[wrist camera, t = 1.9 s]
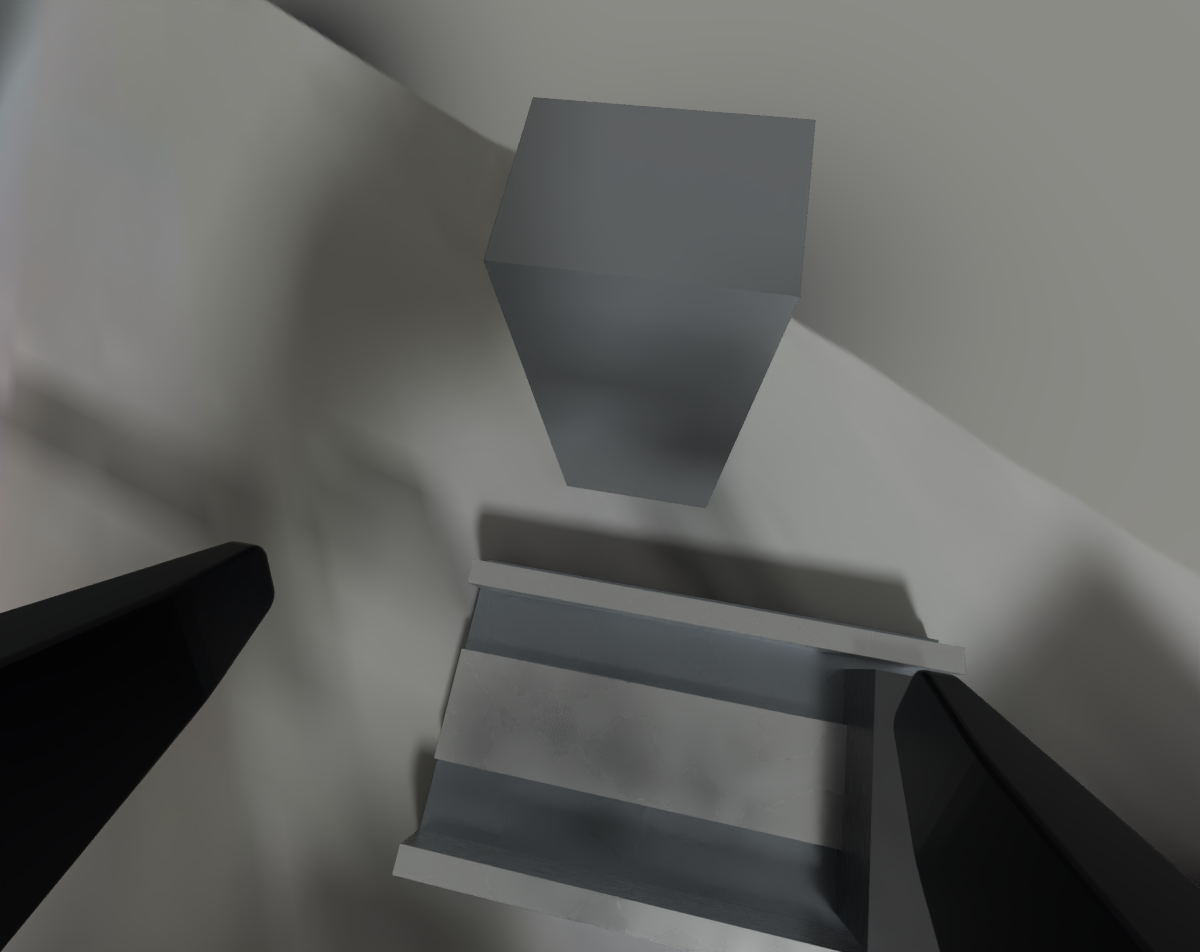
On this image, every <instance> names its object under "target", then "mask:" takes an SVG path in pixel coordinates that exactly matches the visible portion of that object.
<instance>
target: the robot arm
mask: <svg viewBox="0 0 1200 952" xmlns="http://www.w3.org/2000/svg"><path fill="white" fill-rule="evenodd" d="M273 599H274V586H273V581H272V577H271V572H270V568H269V563H268V559H267V555H266V552H265V551H264V550H263V548H262V547H260V546H258V545H253V544H248V543H242V542H228V543H225V544H221V545H218V546H215V547H212V548H209V549H205V550H202V551H199V552H196V553H192V554H189V555H186V556H183V557H180V558H176V559H173V560H170V561H167V562H163V563H160V564H157V565H154V566H151V567H147V568H144V569H141V570H138V571H135V572H131V573H128V574H125V575H122V576H118V577H115V578H112V579H109V580H106V581H102V582H99V583H96V584H93V585H89V586H86V587H83V588H80V589H77V590H73V591H70V592H67V593H64V594H61V595H57V596H54V597H51V598H48V599H44V600H41V601H38V602H35V603H32V604H28V605H25V606H22V607H19V608H15V609H12V610H9V611H6V612H3V613H0V952H1V951H2V950H3V948H4V947H5V946H6V945H7V943H8V942H9V941H10V940H11V939H12V937H13V936H14V935H15V934H16V933H17V931H18V930H19V929H20V928H21V926H22V925H23V924H24V923H25V922H26V920H27V919H28V918H29V917H30V915H31V914H32V913H33V912H34V911H35V909H36V908H37V907H38V906H39V905H40V903H41V902H42V901H43V900H44V898H45V897H46V896H47V895H48V894H49V892H50V891H51V890H52V889H53V887H54V886H55V885H56V884H57V883H58V881H59V880H60V879H61V878H62V877H63V875H64V874H65V873H66V872H67V870H68V869H69V868H70V867H71V866H72V864H73V863H74V862H75V861H76V860H77V858H78V857H79V856H80V855H81V853H82V852H83V851H84V850H85V849H86V847H87V846H88V845H89V844H90V842H91V841H92V840H93V839H94V838H95V836H96V835H97V834H98V833H99V832H100V830H101V829H102V828H103V827H104V825H105V824H106V823H107V822H108V821H109V819H110V818H111V817H112V816H113V814H114V813H115V812H116V811H117V810H118V808H119V807H120V806H121V805H122V804H123V802H124V801H125V800H126V799H127V797H128V796H129V795H130V794H131V793H132V791H133V790H134V789H135V788H136V787H137V785H138V784H139V783H140V782H141V780H142V779H143V778H144V777H145V776H146V774H147V773H148V772H149V771H150V769H151V768H152V767H153V766H154V765H155V763H156V762H157V761H158V760H159V759H160V757H161V756H162V755H163V754H164V752H165V751H166V750H167V749H168V748H169V746H170V745H171V744H172V743H173V742H174V740H175V739H176V738H177V737H178V735H179V734H180V733H181V732H182V731H183V729H184V728H185V727H186V726H187V724H188V723H189V722H190V721H191V720H192V718H193V717H194V716H195V715H196V713H197V712H198V711H199V710H200V708H201V707H202V706H203V704H204V703H205V702H206V701H207V699H208V698H209V696H210V695H211V694H212V692H213V691H214V689H215V688H216V687H217V685H218V684H219V682H220V681H221V680H222V678H223V677H224V675H225V674H226V672H227V671H228V669H229V668H230V666H231V665H232V663H233V662H234V660H235V659H236V658H237V656H238V655H239V653H240V652H241V650H242V649H243V647H244V646H245V644H246V643H247V641H248V640H249V638H250V637H251V636H252V634H253V633H254V631H255V630H256V628H257V627H258V625H259V624H260V622H261V621H262V619H263V618H264V617H265V615H266V614H267V612H268V611H269V609H270V607H271V605H272V603H273ZM893 732H894V739H895V745H896V751H897V757H898V763H899V769H900V775H901V782H902V788H903V794H904V800H905V806H906V812H907V818H908V824H909V830H910V836H911V842H912V847H913V852H914V857H915V861H916V866H917V870H918V874H919V878H920V882H921V885H922V889H923V893H924V896H925V900H926V904H927V907H928V911H929V915H930V919H931V922H932V926H933V930H934V933H935V937H936V941H937V944H938V948H939V952H1200V887H1199V886H1198V885H1197V884H1196V883H1195V882H1193V881H1192V880H1191V879H1190V878H1189V877H1188V876H1186V875H1185V874H1184V873H1183V872H1182V871H1181V870H1179V869H1178V868H1177V867H1176V866H1175V865H1174V864H1173V863H1171V862H1170V861H1169V860H1168V859H1167V858H1166V857H1164V856H1163V855H1162V854H1161V853H1160V852H1159V851H1158V850H1156V849H1155V848H1154V847H1153V846H1152V845H1151V844H1149V843H1148V842H1147V841H1146V840H1145V839H1144V838H1143V837H1141V836H1140V835H1139V834H1138V833H1137V832H1136V831H1134V830H1133V829H1132V828H1131V827H1130V826H1129V825H1127V824H1126V823H1125V822H1124V821H1123V820H1122V819H1121V818H1119V817H1118V816H1117V815H1116V814H1115V813H1114V812H1112V811H1111V810H1110V809H1109V808H1108V807H1107V806H1106V805H1104V804H1103V803H1102V802H1101V801H1100V800H1099V799H1097V798H1096V797H1095V796H1094V795H1093V794H1092V793H1091V792H1089V791H1088V790H1087V789H1086V788H1085V787H1084V786H1082V785H1081V784H1080V783H1079V782H1078V781H1077V780H1076V779H1074V778H1073V777H1072V776H1071V775H1070V774H1069V773H1067V772H1066V771H1065V770H1064V769H1063V768H1062V767H1060V766H1059V765H1058V764H1057V763H1056V762H1055V761H1054V760H1052V759H1051V758H1050V757H1049V756H1048V755H1047V754H1045V753H1044V752H1043V751H1042V750H1041V749H1040V748H1039V747H1037V746H1036V745H1035V744H1034V743H1033V742H1032V741H1030V740H1029V739H1028V738H1027V737H1026V736H1025V735H1024V734H1022V733H1021V732H1020V731H1019V730H1018V729H1017V728H1015V727H1014V726H1013V725H1012V724H1011V723H1010V722H1008V721H1007V720H1006V719H1005V718H1004V717H1003V716H1002V715H1000V714H999V713H998V712H997V711H996V710H995V709H993V708H992V707H991V706H990V705H989V704H988V703H987V702H985V701H984V700H983V699H982V698H981V697H980V696H978V695H977V694H976V693H975V692H974V691H973V690H972V689H970V688H969V687H968V686H967V685H966V684H965V683H963V682H962V681H961V680H960V679H959V678H957V677H956V676H954V675H951V674H947V673H942V672H936V671H931V670H925V669H922V670H918V671H917V672H916V673H914V675H913V676H912V678H911V680H910V682H909V684H908V687H907V689H906V691H905V693H904V695H903V697H902V699H901V701H900V704H899V706H898V708H897V710H896V712H895V716H894V721H893Z"/></svg>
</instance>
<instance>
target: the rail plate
mask: <svg viewBox="0 0 1200 952" xmlns="http://www.w3.org/2000/svg"><path fill="white" fill-rule="evenodd" d="M468 583H470V584H472V585H474V586H476V587H478V588H480V591H479V595H478V599H477V603H476V607H475V611H474V615H473V619H472V623H471V627H470V631H469V635H468V639H467V643H466V647H465V649H462V650H461V653H460V657H459V661H458V665H457V669H456V673H455V677H454V681H453V685H452V689H451V693H450V697H449V701H448V705H447V709H446V713H445V717H444V721H443V725H442V729H441V733H440V736H439V740H438V744H437V748H436V752H435V756H434V758H435V759H437V763H436V767H435V771H434V775H433V779H432V783H431V787H430V790H429V794H428V798H427V802H426V806H425V810H424V814H423V818H422V822H421V826H420V829H419V830H418V831H416V832H415V833H414V834H412V835H411V836H410V837H408V838H407V839H406V840H404V841H403V842H402V843H400V846H399V850H398V854H397V858H396V862H395V866H394V869H393V873H392V875H394V876H398V877H402V878H406V879H410V880H414V881H418V882H422V883H426V884H430V885H434V886H438V887H442V888H446V889H450V890H454V891H458V892H462V893H466V894H470V895H473V896H477V897H481V898H485V899H489V900H493V901H497V902H501V903H505V904H509V905H513V906H517V907H521V908H525V909H529V910H533V911H537V912H541V913H545V914H549V915H553V916H557V917H561V918H565V919H569V920H572V921H576V922H580V923H584V924H588V925H592V926H596V927H600V928H604V929H608V930H612V931H616V932H620V933H624V934H628V935H632V936H636V937H640V938H644V939H648V940H652V941H656V942H660V943H664V944H667V945H671V946H675V947H679V948H683V949H687V950H691V951H695V952H939V948H938V944H937V941H936V937H935V933H934V930H933V926H932V922H931V919H930V915H929V911H928V907H927V904H926V900H925V896H924V893H923V889H922V885H921V882H920V878H919V874H918V870H917V866H916V861H915V857H914V852H913V847H912V842H911V836H910V830H909V824H908V818H907V812H906V806H905V800H904V794H903V788H902V782H901V775H900V769H899V763H898V757H897V751H896V745H895V739H894V732H893V721H894V716H895V712H896V710H897V708H898V706H899V704H900V701H901V699H902V697H903V695H904V693H905V691H906V689H907V687H908V684H909V682H910V680H911V678H912V676H913V675H914V673H916V672H917V671H918V670H922V669H925V670H931V671H936V672H942V673H947V674H960V675H966V673H965V648H963V647H958V646H952V645H947V644H941V643H938V640H934V639H929V638H923V637H918V636H912V635H906V634H901V633H895V632H890V631H884V630H879V629H873V628H867V627H862V626H856V625H851V624H845V623H840V622H834V621H829V620H823V619H817V618H812V617H806V616H801V615H795V614H790V613H784V612H778V611H773V610H767V609H762V608H756V607H751V606H745V605H739V604H734V603H728V602H723V601H717V600H712V599H706V598H700V597H695V596H689V595H684V594H678V593H673V592H667V591H661V590H656V589H650V588H645V587H639V586H634V585H628V584H623V583H617V582H611V581H606V580H600V579H595V578H589V577H584V576H578V575H572V574H567V573H561V572H556V571H550V570H545V569H539V568H533V567H528V566H522V565H517V564H511V563H506V562H500V561H494V560H489V559H488V560H487V562H486V561H480V560H475V559H474V561H473V564H472V568H471V572H470V576H469V580H468Z"/></svg>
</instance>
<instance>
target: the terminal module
mask: <svg viewBox="0 0 1200 952" xmlns="http://www.w3.org/2000/svg"><path fill="white" fill-rule="evenodd" d="M814 131H815V120H810V119H797V118H785V117H784V118H783V117H772V116H760V115H747V114H734V113H722V112H709V111H697V110H685V109H672V108H660V107H647V106H635V105H634V106H633V105H622V104H608V103H597V102H585V101H572V100H559V99H547V98H533V100H532V103H531V106H530V109H529V113H528V116H527V119H526V123H525V126H524V130H523V132H522V136H521V139H520V143H519V146H518V149H517V152H516V155H515V159H514V162H513V165H512V168H511V172H510V175H509V178H508V181H507V185H506V188H505V191H504V195H503V198H502V201H501V204H500V208H499V211H498V214H497V217H496V221H495V224H494V227H493V231H492V234H491V237H490V240H489V244H488V247H487V250H486V253H485V257H484V263H485V266H486V268H487V271H488V274H489V276H490V279H491V282H492V284H493V287H494V290H495V293H496V295H497V298H498V301H499V303H500V306H501V309H502V311H503V314H504V317H505V320H506V322H507V325H508V328H509V330H510V333H511V336H512V338H513V341H514V344H515V346H516V349H517V352H518V355H519V357H520V360H521V363H522V365H523V368H524V371H525V373H526V376H527V379H528V382H529V384H530V387H531V390H532V392H533V395H534V398H535V400H536V403H537V406H538V409H539V411H540V414H541V417H542V419H543V422H544V425H545V427H546V430H547V433H548V436H549V438H550V441H551V444H552V446H553V449H554V452H555V454H556V457H557V460H558V462H559V465H560V468H561V471H562V473H563V476H564V479H565V481H566V484H567V486H572V487H578V488H584V489H591V490H597V491H603V492H609V493H615V494H622V495H628V496H634V497H640V498H646V499H653V500H659V501H665V502H671V503H677V504H684V505H690V506H696V507H702V508H706V506H707V504H708V501H709V499H710V497H711V495H712V492H713V490H714V488H715V486H716V484H717V481H718V479H719V477H720V475H721V472H722V470H723V468H724V466H725V463H726V461H727V459H728V457H729V455H730V452H731V450H732V448H733V446H734V443H735V441H736V439H737V437H738V434H739V432H740V430H741V428H742V426H743V423H744V421H745V419H746V417H747V414H748V412H749V410H750V408H751V405H752V403H753V401H754V399H755V397H756V394H757V392H758V390H759V388H760V385H761V383H762V381H763V379H764V377H765V374H766V372H767V370H768V368H769V365H770V363H771V361H772V359H773V356H774V354H775V352H776V350H777V348H778V345H779V343H780V341H781V339H782V336H783V334H784V332H785V330H786V327H787V325H788V323H789V321H790V319H791V316H792V314H793V312H794V310H795V307H796V305H797V303H798V301H799V298H800V294H801V283H802V282H801V281H802V271H803V259H804V248H805V236H806V224H807V213H808V201H809V189H810V178H811V165H812V154H813V143H814Z"/></svg>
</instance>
